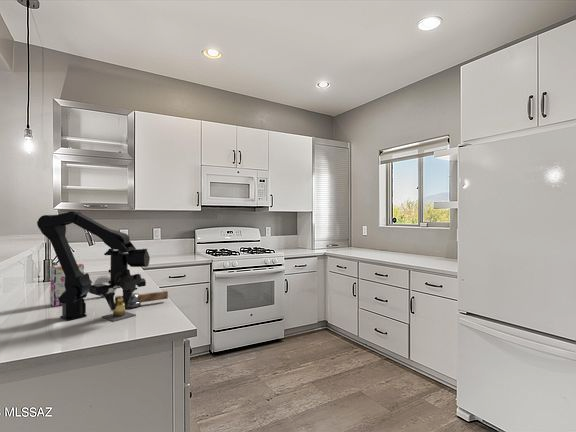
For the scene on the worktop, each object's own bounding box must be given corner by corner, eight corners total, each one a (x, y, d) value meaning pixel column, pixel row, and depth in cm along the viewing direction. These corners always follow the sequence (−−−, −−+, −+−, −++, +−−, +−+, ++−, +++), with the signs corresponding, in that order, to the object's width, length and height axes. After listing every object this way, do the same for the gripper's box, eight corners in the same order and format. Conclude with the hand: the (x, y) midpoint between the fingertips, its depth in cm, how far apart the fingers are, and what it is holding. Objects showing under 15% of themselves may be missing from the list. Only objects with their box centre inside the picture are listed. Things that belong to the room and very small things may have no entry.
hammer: (125, 308, 131) (125, 297, 131) (122, 304, 137) (122, 294, 137) (169, 302, 142) (169, 291, 141) (164, 298, 147) (165, 288, 147)
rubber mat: (113, 321, 117) (113, 320, 117) (101, 317, 122) (101, 316, 122) (136, 315, 124) (136, 314, 124) (123, 311, 129) (123, 310, 129)
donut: (93, 299, 147) (93, 276, 147) (92, 297, 150) (92, 275, 150) (118, 296, 153) (118, 274, 153) (117, 294, 156) (117, 273, 156)
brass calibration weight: (116, 317, 120) (116, 298, 120) (110, 315, 123) (111, 296, 123) (127, 315, 124) (127, 296, 124) (121, 313, 126) (121, 294, 126)
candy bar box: (54, 307, 134) (54, 267, 134) (49, 305, 137) (49, 266, 137) (84, 301, 143) (84, 263, 143) (79, 299, 146) (79, 262, 146)
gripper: (105, 273, 111) (104, 319, 111) (154, 265, 126) (154, 306, 126) (88, 269, 117) (88, 313, 117) (137, 263, 132) (137, 301, 133)
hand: (118, 308), depth 123 cm, fingers open, 5 cm apart
